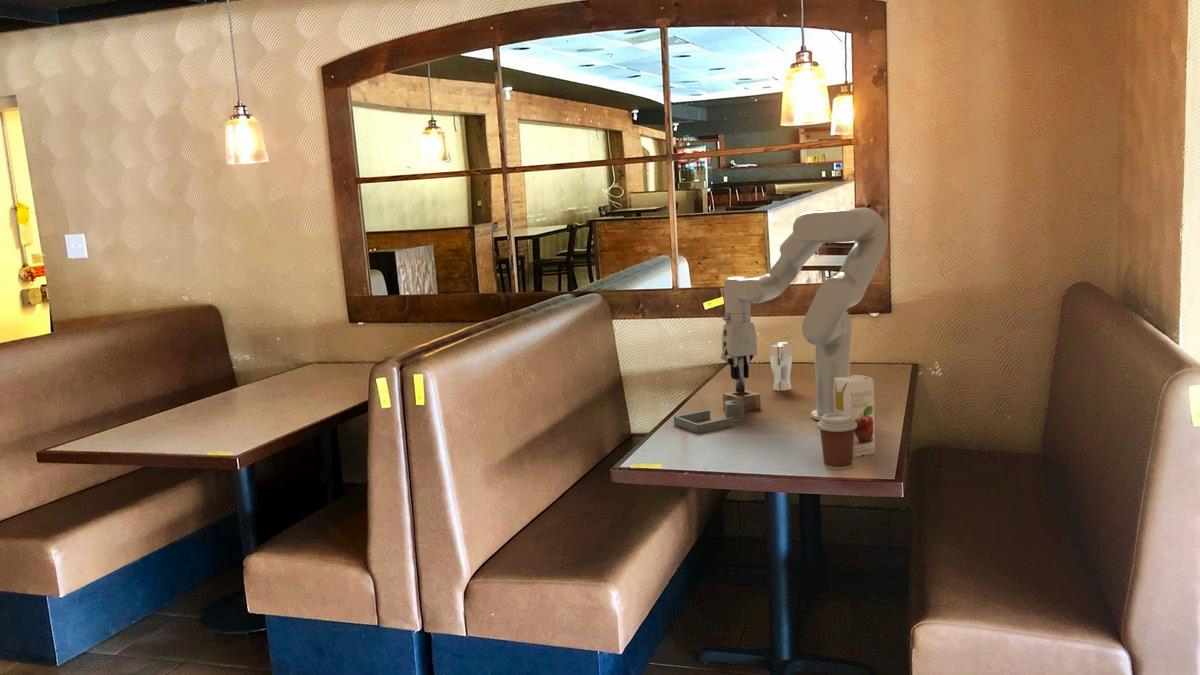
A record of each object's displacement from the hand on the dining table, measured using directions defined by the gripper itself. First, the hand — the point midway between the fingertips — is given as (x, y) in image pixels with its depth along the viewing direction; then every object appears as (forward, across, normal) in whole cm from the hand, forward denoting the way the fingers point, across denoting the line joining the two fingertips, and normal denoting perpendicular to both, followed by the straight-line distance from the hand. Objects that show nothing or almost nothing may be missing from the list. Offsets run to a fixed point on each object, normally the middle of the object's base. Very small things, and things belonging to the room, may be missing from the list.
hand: (739, 377), depth 277 cm
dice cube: (+10, -9, -9) cm, 16 cm away
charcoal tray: (+9, -20, -9) cm, 24 cm away
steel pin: (+4, 0, 0) cm, 4 cm away
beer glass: (+10, +25, +12) cm, 29 cm away
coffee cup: (+9, -17, -61) cm, 64 cm away
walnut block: (+9, 0, 0) cm, 9 cm away
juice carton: (+9, -7, -56) cm, 57 cm away
